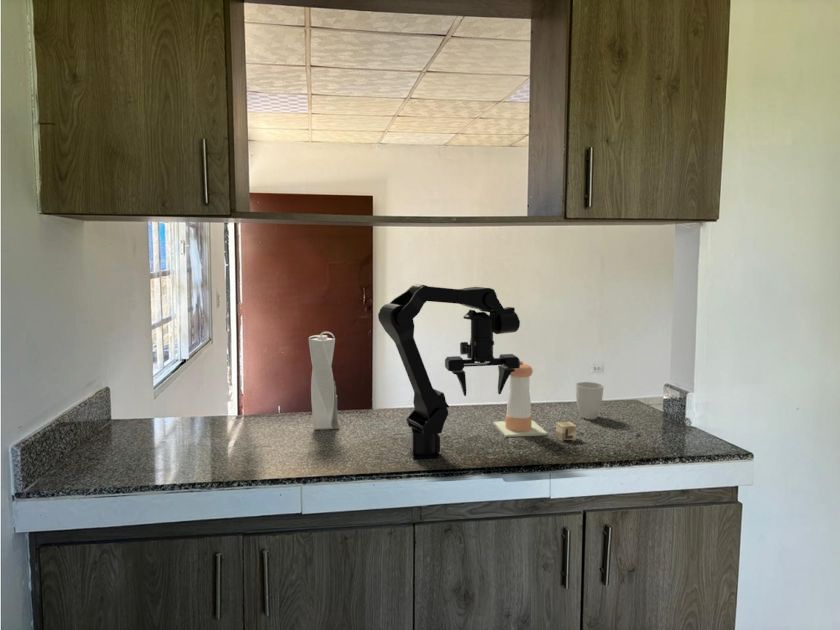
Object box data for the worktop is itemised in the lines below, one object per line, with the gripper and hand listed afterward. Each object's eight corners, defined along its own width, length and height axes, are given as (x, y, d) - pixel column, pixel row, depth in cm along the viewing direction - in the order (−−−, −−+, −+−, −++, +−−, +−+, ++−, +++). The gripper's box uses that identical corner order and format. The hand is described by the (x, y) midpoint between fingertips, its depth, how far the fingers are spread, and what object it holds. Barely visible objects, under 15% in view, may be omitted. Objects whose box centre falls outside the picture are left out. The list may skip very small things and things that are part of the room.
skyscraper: (339, 431, 156) (338, 332, 153) (310, 432, 155) (308, 332, 152) (337, 422, 165) (336, 327, 162) (309, 423, 163) (308, 328, 160)
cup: (590, 412, 177) (591, 381, 176) (607, 419, 169) (609, 387, 168) (569, 414, 174) (570, 383, 173) (585, 422, 166) (587, 389, 165)
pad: (505, 436, 152) (505, 434, 152) (493, 423, 164) (493, 421, 164) (547, 435, 154) (547, 433, 154) (532, 422, 166) (532, 420, 166)
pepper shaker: (500, 426, 160) (501, 360, 158) (519, 422, 164) (521, 357, 162) (516, 433, 154) (518, 364, 152) (536, 429, 157) (538, 362, 155)
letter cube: (561, 441, 149) (562, 426, 149) (555, 436, 153) (556, 422, 153) (576, 440, 150) (576, 426, 150) (569, 435, 154) (570, 421, 154)
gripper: (507, 330, 153) (507, 385, 155) (440, 332, 151) (441, 389, 153) (520, 336, 142) (520, 396, 144) (448, 339, 140) (449, 399, 142)
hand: (482, 394), depth 146 cm, fingers open, 9 cm apart
